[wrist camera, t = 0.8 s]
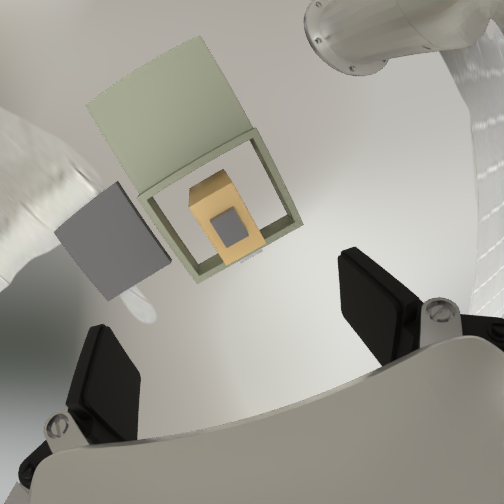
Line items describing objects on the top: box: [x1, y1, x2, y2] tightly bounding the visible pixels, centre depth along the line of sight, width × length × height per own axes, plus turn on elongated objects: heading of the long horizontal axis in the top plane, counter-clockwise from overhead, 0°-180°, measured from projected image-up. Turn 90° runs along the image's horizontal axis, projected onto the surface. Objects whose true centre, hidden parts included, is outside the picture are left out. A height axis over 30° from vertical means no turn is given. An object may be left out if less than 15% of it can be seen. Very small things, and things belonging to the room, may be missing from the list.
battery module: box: [189, 169, 266, 266], centre depth 30 cm, size 4×7×9 cm, turn 28°
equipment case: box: [86, 36, 304, 284], centre depth 30 cm, size 15×26×3 cm, turn 28°
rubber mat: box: [54, 181, 172, 301], centre depth 33 cm, size 11×12×1 cm
